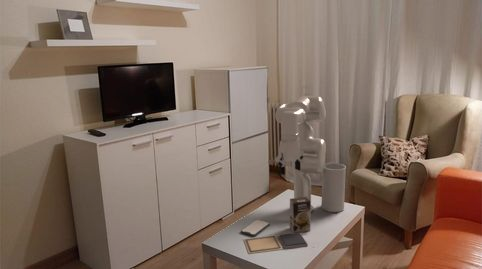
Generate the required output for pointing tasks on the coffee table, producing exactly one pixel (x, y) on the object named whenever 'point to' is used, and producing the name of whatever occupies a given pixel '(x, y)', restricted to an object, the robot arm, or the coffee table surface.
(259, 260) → the coffee table surface
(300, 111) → the robot arm
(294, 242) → the pad
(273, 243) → the marked card
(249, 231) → the phone case
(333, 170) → the cylinder vase
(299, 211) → the coffee box
